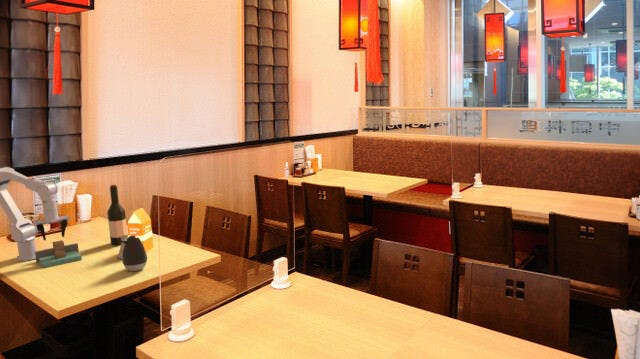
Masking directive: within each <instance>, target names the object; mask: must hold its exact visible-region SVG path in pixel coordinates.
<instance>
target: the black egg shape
mask: <svg viewBox="0 0 640 359" xmlns="http://www.w3.org/2000/svg"><path fill="white" fill-rule="evenodd" d="M121 243H125V244H124V248H123V254H122V259H121V260H122V261H121V262H122V265H123V266H124V268H125V269H126V270H127V271H129V272H139V271H141V270H143V269H144V268H145V267H146V265H147V261H148V255H147V254H148V253H147V252H146V251H145V248H144V245H143V243H142V242H141V240H140V239H139V238H138V237H137V236H135V235H131V236H129V237H128V238H127V239H126V240H121Z"/></svg>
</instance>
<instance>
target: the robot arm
mask: <svg viewBox="0 0 640 359" xmlns="http://www.w3.org/2000/svg"><path fill="white" fill-rule="evenodd" d="M12 181H13V182H16V183H18V184H21V185H24V187H25V189H28V190H30V191H32V192H35V193H37V195H38V196H39V198H40V201H41V205H42V206H41V207H42V211H43V219H38V220H33V222H32V221H31V220H30V219H27V218H25V217H24V215H23V214H22V213H21V210H20V209H19V207H18V205H17V204H16V202H15V201H14V199H13V198H12V196H11V194H10V193H9V191H8V186H10V184H11V182H12ZM57 193H58V186H57V184H56V183H54V182H53V181H50V182H46V181H45V180H41V179H39V178H38V177H37V176H30V177H27V176H26V175H24V174H22V173H20V172H17V171H15V169H14V168H11V167H10V166H4V167H0V207H1V208H2V210H3V212H4V213H5V215H6V216H7V218H8V220H9V221H10V223H11V225H10V228H9V231H10V233H11V238H12V239H13V241H14V242H16V244H17V245H16V246H17V250H18V255H17V256H16V258H17V259H18V261H19V262H20V263H21V262H28V261H31V260H32V261H33V260H36V257H35V251H37V246H36V236H37V235H38V231H39V232H40V234H41V236H42V239H43V241H47V237H46V233H45V226H44V225H48V224H54V223H55V224H56V223H59V224H60V230H61V231H60V234H61V237H62V238H64V237H65V233H66V229H67V226H68V222H69V221H71V220H70V215H63V216H59V213H58V204H57V196H56V194H57Z"/></svg>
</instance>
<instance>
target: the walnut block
mask: <svg viewBox="0 0 640 359" xmlns="http://www.w3.org/2000/svg"><path fill="white" fill-rule="evenodd" d="M64 246H65V242H64V241H63V240H56V241H52V248H53V250H54V257H55V258H56V259H58V258H63V257H66V254H65V247H64Z"/></svg>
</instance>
